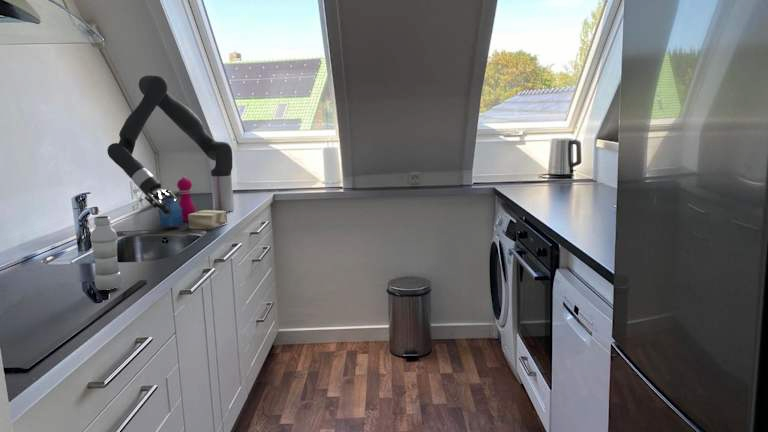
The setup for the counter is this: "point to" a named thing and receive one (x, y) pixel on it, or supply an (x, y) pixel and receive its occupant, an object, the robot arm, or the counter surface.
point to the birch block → (207, 219)
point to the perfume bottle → (171, 212)
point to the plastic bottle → (105, 254)
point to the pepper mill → (185, 197)
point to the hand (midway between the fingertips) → (173, 210)
